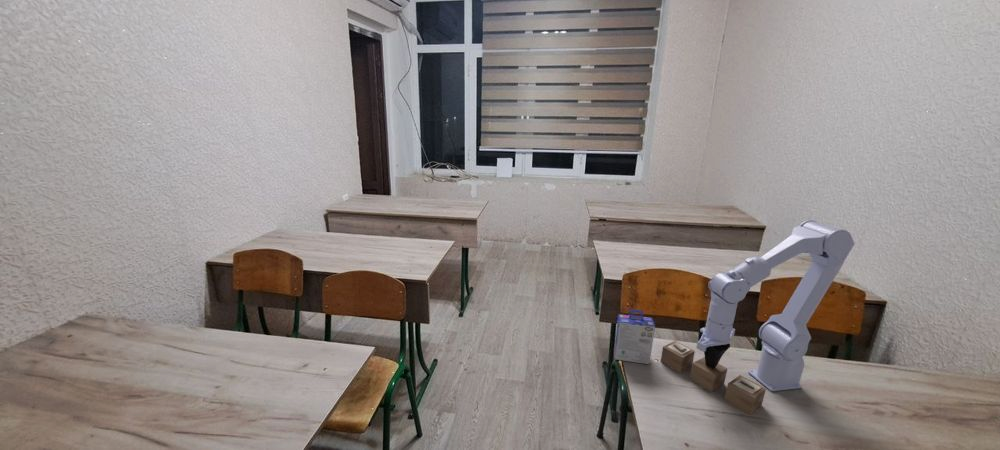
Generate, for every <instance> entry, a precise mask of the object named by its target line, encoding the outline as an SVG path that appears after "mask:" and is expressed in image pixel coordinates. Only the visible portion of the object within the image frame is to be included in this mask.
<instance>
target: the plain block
mask: <svg viewBox="0 0 1000 450" xmlns="http://www.w3.org/2000/svg"><path fill="white" fill-rule="evenodd" d="M727 372H728V367H725V366H724V365H722V364H720V363H718V364H717V366H716V367H715V368H713V369H712V368H711V367H709V366H707V365H706V363H705V356H704V357H702V358H700V359H698V360H696V361H693V364H692V366H691V370H690V375H689V379H690V381H693V382H694V383H696V384H697V385H699V386H701V387H703V388H704V389H705V390H707V391H709V392H711V393H712V392H714V391H716V390H717V389H718V388H721V387H722V386H724V384H725V381H726V377H727Z"/></svg>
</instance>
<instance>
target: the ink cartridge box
mask: <svg viewBox="0 0 1000 450" xmlns="http://www.w3.org/2000/svg"><path fill="white" fill-rule="evenodd" d="M634 313H637V314H640V315H637V314H636V315H635V314H634ZM616 322H617V323H616V333H615V342H614V348H613V355H614V356H613V357H614V360H619V361H624V362H632V363H639V364H646V365H650V363H651V357H652V351H653V350H652V349H653V342H654V338H655V330H656V325H655V322H654V319H653V318H652V317H647V316H644V311H643V310H640V309H639V310H638V309H633V308H630V310H629V314H621V313H620V314H617V321H616Z"/></svg>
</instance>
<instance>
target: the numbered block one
mask: <svg viewBox="0 0 1000 450" xmlns="http://www.w3.org/2000/svg"><path fill="white" fill-rule="evenodd" d="M766 390H767V388H765V386H764V387H763V386H761V385H760V384H758V383H756V382H754V381H753V380H751V379H749V378H747V377H744V376H743V375H741V374H739V375H738V376H736V377H735V378H734V379H732V380H731V381H729V382H727V385H726V390H725V395H724V399H723V400H724V401H726V402H727V403H729V404H731V405H733V407H734V406H735V407H736V408H737V409H739V410H741V411H742V412H744V413H746V414H747V415H749V416H751V415H752V414H753V413H754V412H756V411H757V410H758V409H759V408H760V407H762V406H763V402H764V397H765V395H766Z"/></svg>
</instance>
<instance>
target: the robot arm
mask: <svg viewBox="0 0 1000 450" xmlns="http://www.w3.org/2000/svg"><path fill="white" fill-rule="evenodd" d="M855 244H856V243H855V242H854V239H853V236H852V235H851V233H850V232H849V231H848V230H846V229H842V228H841V229H840V228H836V227H833V226H830V225H827V224H825V223H821V222H818V221H816V220H813V219H807V220H805V221H802V222H800V224H799V225H797V226H795V227H793V228H792V231H791V234H790V235H789V236H787V238H785V239H784V240H782V241H781V242H779V243H778V244H777V245H776V246H775V247H773V248H771V249H770V250H769V251H767V252H765V253H764V255H762V256H761V257H759V256H751V257H748V258H746V259H744V262H742V263H740V264H738V265H737V266H735V267H734V268H732V269H730V270H729V271H727V272H720V273H717V274H715V275H714V276H713V277H712V278H711V279H710V281H708V283H707V284H708V289H709V291H710V297H711V299H710V302H709V308H708V314H707V318H706V323H705V327H702V328H700V329H699V332H700V333H702V334H701V337H700V339H699V340H698V341H697V343H696V348H695V349H698V350H699V351H701V352H703V353H704V357H705V363H706V365H707V366H709V367H711V368H712V369H713V368H715V367H716V366H717V364H719V363H720V360H721V358H722V356H723V355H724V354H725V353H726V352H727V351H728V350H729V349H730V348H731V344H730V342H731V340H732V337H734V336H735V332H736V329H735V328H733V325H734V321H735V316H736V311H737V307H738V305H739V304H738V303H739V302H741V301H743V300H744V299H745V298H746V295H747V293H749V292H750V290H751V289H752V288H753V287H754V286H756V285H757V284H759V283H761V282H762V281H764V280H765V279H767V278H768V277H770V276H771V272H772V270H773V269H775V268H776V267H778V266H779V265H781V264H784V263H785V262H787V261H789V260H791V259H793V258H795V257H797V256H798V255H800V254H808V255H809V257H810V258H811V264H810V265H809V267H808V268H807V270H806V272H805V273H804V274H803V276H802V278H801V280H800V282H799V284H798V285H797V287H796V288H795V290H794V292H793V294H792V295H791V297H790V299H789V300H788V302H787V303H786V306H785V308H783V311H782V312H781V313H779V314H772V315H770V316H769V318H768V320H767V321H766V322H764V323H763V324H762V325H761V326H760V328H759V329H758V337H759V338H760V339H761V346H762V349H761V354H760V357H759V361H758V365H757V369H750V370H748V371H747V372H748V373H749V375H751V376H752V377H753V378H754V379H755V380H757V381H758V382H759V383H761V384H762V385H763V386H764V388H765V387H766V389H768V390H769V391H771V392H778V391H787V390H796V389H802V388H803V386H802V385H801V384H800V381H801V379H802V375H803V372H804V368H805V361H804V359H803V357H804V356H805V355H806V354H807V352H808V348H809V343H810V341H811V340H812V336H811V334H810V332H809V329H808V327H807V324H808V323H809V321H810V319H811V317H812V316H813V314H814V313H815V311H816V310H817V307H818V306H819V304H820V303H821V301H822V299H823V297H824V296H825V295H826V293H827V291H828V290H829V288H830V287H831V285H832V284H833V282H834V281H835V278H836V276H837V275H838V273H839V271H840V270H841V269H842V267H843V266H844V264H845V260H846V259H847V258H848V256H849V254H850V252H851V251H852V249H853V247H854V246H855Z"/></svg>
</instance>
